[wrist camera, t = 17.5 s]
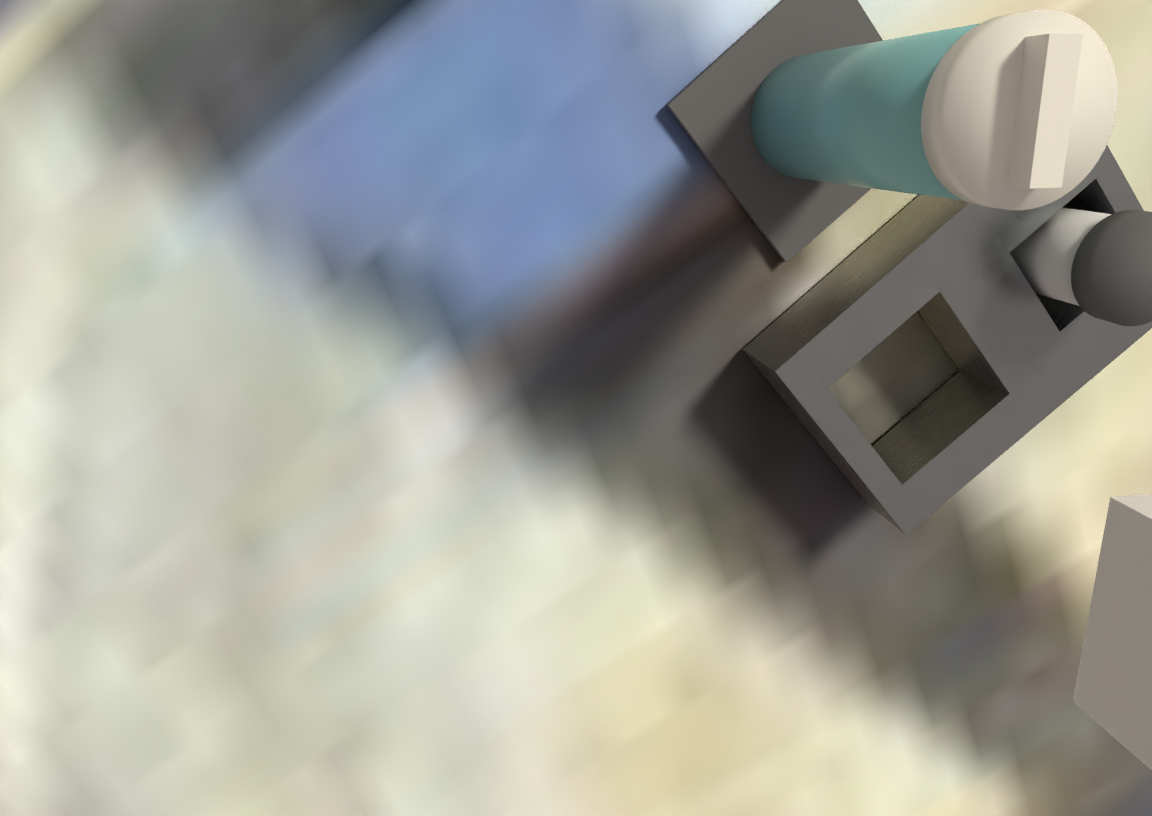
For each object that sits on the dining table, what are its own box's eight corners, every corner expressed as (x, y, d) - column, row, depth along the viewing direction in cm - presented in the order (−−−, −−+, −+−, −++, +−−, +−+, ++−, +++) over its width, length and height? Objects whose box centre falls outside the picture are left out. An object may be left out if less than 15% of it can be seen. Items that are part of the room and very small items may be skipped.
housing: (865, 501, 47) (905, 535, 43) (742, 349, 43) (775, 371, 40) (1126, 280, 46) (1190, 295, 42) (1023, 104, 42) (1083, 103, 39)
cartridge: (746, 182, 41) (954, 216, 25) (751, 51, 39) (976, 4, 24) (860, 179, 41) (1126, 210, 26) (869, 51, 40) (1160, 5, 25)
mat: (665, 104, 39) (668, 104, 39) (826, -41, 39) (831, -42, 38) (783, 261, 42) (786, 262, 42) (933, 128, 42) (938, 129, 41)
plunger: (967, 242, 43) (1072, 266, 36) (1043, 176, 43) (1163, 188, 36) (1013, 313, 45) (1122, 348, 38) (1087, 250, 44) (1210, 274, 38)
